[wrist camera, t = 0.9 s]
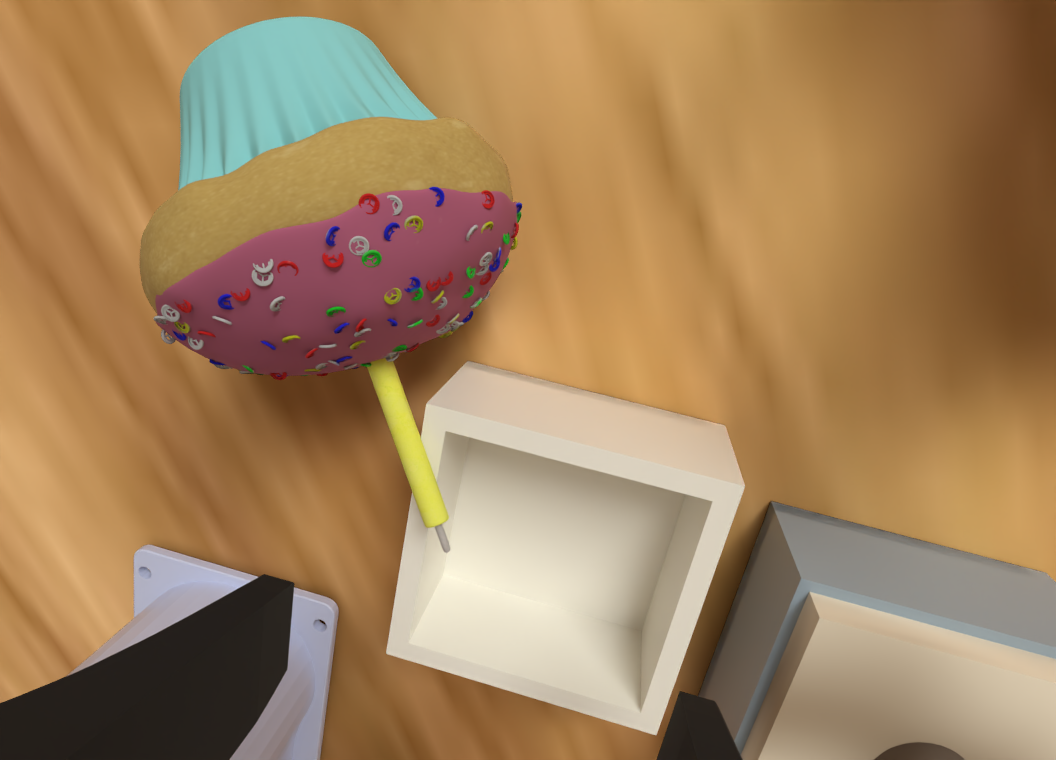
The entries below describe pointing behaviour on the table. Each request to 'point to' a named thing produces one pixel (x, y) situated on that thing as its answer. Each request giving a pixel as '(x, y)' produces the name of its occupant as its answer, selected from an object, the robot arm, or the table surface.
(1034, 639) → the slate pot
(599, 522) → the cream pot
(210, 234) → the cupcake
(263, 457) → the table surface
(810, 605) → the lid
